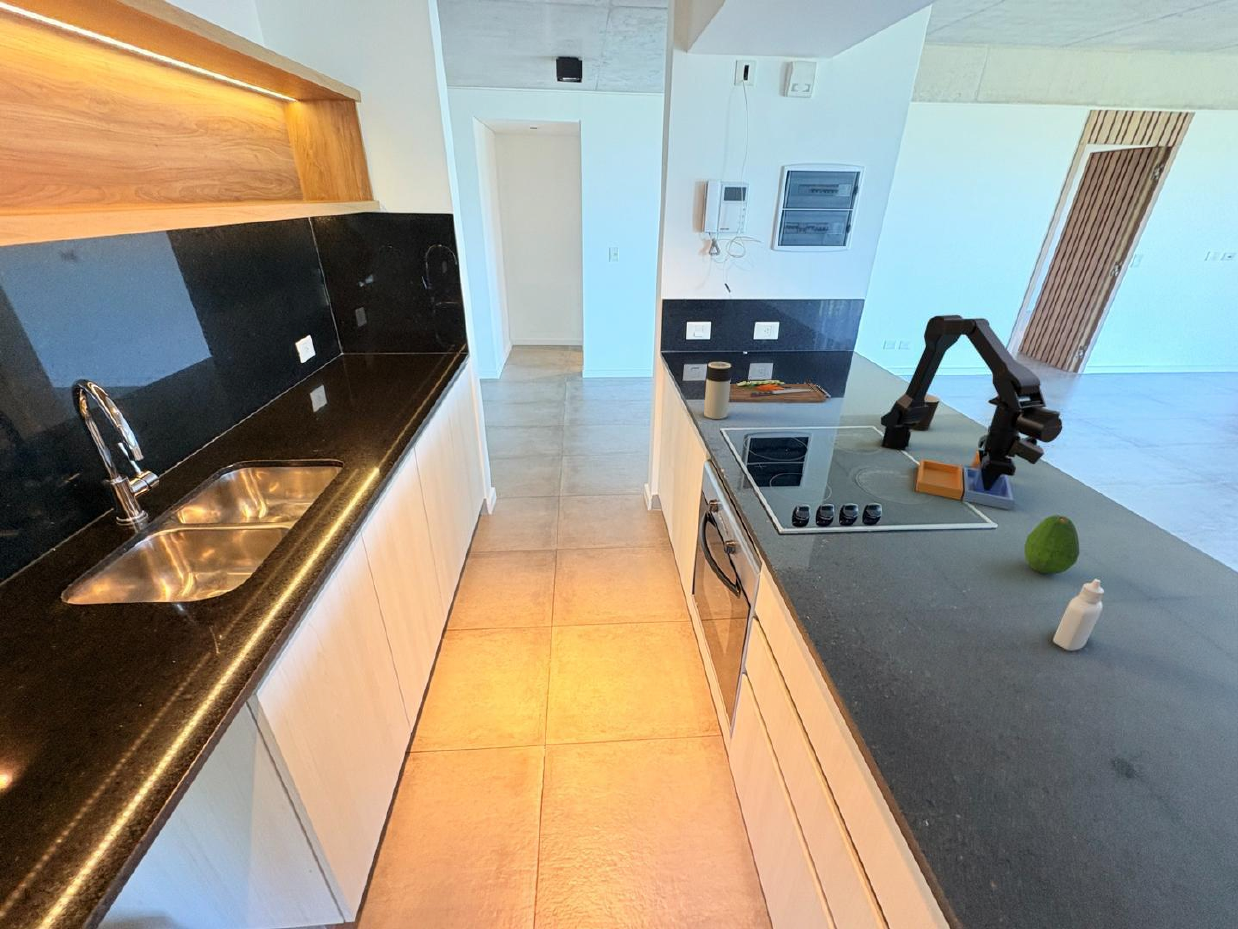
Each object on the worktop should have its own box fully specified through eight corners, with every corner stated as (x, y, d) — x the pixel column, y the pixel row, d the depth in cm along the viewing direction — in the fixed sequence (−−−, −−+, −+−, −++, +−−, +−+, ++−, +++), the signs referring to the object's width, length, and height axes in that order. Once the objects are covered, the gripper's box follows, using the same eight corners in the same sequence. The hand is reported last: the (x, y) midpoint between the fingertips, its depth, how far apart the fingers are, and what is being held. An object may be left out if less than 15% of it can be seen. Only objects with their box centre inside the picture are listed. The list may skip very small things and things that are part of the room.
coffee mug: (936, 432, 167) (944, 402, 163) (906, 430, 169) (913, 401, 165) (924, 420, 178) (931, 391, 173) (896, 418, 179) (903, 390, 175)
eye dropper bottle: (1041, 631, 86) (1067, 571, 81) (1076, 632, 86) (1104, 572, 81) (1060, 651, 82) (1089, 589, 77) (1097, 652, 82) (1128, 590, 77)
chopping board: (813, 382, 219) (814, 375, 218) (835, 402, 195) (836, 394, 194) (704, 381, 221) (705, 374, 219) (713, 401, 196) (713, 393, 195)
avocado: (1008, 564, 103) (1028, 511, 98) (1033, 555, 106) (1054, 503, 101) (1052, 588, 97) (1076, 532, 91) (1078, 577, 99) (1102, 522, 94)
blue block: (973, 491, 130) (979, 473, 128) (972, 483, 134) (978, 465, 132) (997, 496, 128) (1003, 477, 126) (996, 487, 132) (1002, 469, 129)
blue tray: (962, 500, 127) (965, 490, 126) (961, 475, 139) (963, 466, 138) (1010, 510, 123) (1013, 500, 121) (1004, 483, 135) (1007, 474, 134)
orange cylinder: (971, 472, 141) (976, 455, 139) (971, 465, 145) (976, 449, 143) (992, 475, 139) (997, 458, 137) (990, 469, 143) (996, 452, 141)
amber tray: (915, 490, 131) (918, 481, 130) (918, 467, 144) (920, 459, 143) (960, 500, 127) (963, 490, 126) (959, 475, 139) (962, 466, 138)
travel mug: (717, 421, 177) (721, 368, 170) (699, 415, 183) (702, 364, 175) (732, 416, 182) (736, 364, 174) (714, 410, 187) (718, 360, 180)
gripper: (1053, 446, 113) (1030, 510, 119) (1041, 420, 127) (1021, 478, 134) (992, 437, 118) (972, 498, 124) (987, 413, 132) (969, 469, 139)
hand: (985, 486), depth 130 cm, fingers closed on blue block, 5 cm apart
